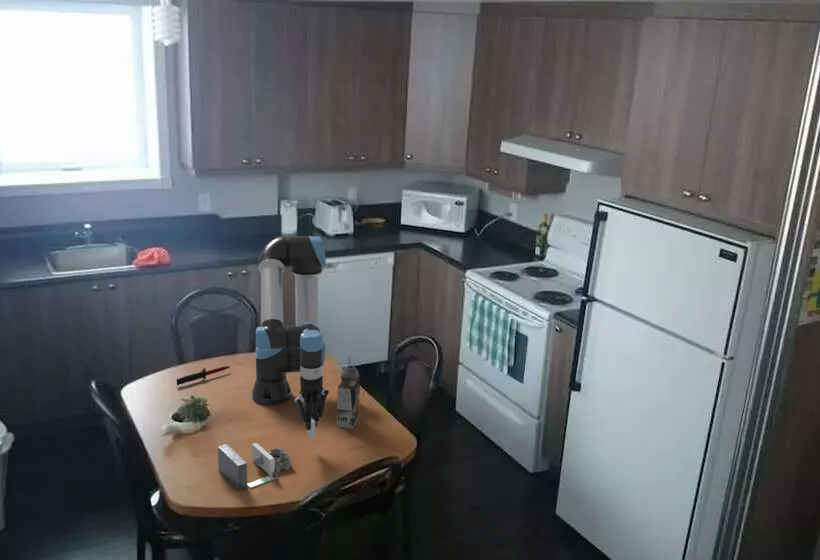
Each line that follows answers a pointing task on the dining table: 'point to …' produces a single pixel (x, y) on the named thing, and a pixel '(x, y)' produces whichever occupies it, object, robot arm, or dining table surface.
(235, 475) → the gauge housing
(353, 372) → the beverage cup
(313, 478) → the dining table surface
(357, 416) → the coffee box
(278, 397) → the robot arm
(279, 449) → the egg carton
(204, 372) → the knife
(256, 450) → the spring plate
